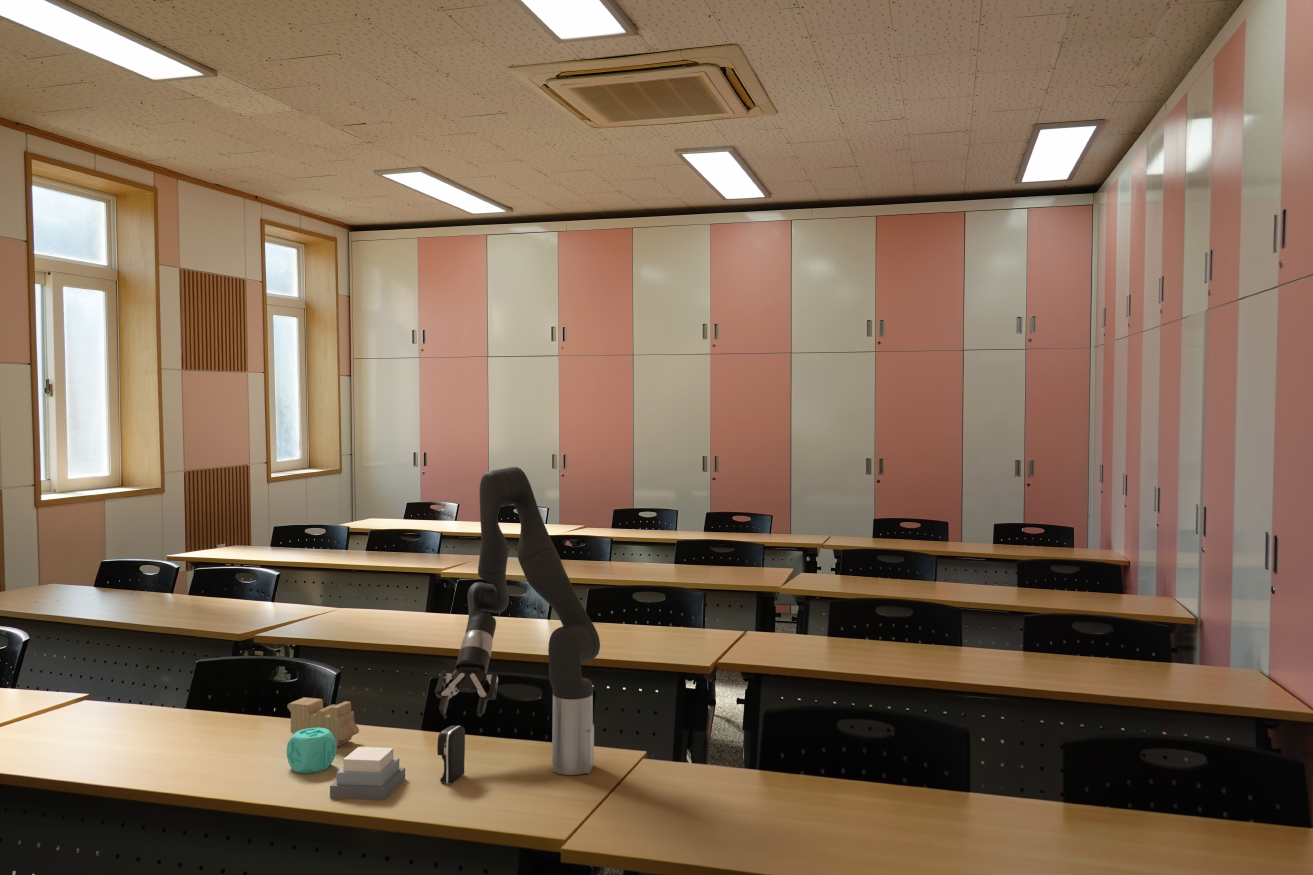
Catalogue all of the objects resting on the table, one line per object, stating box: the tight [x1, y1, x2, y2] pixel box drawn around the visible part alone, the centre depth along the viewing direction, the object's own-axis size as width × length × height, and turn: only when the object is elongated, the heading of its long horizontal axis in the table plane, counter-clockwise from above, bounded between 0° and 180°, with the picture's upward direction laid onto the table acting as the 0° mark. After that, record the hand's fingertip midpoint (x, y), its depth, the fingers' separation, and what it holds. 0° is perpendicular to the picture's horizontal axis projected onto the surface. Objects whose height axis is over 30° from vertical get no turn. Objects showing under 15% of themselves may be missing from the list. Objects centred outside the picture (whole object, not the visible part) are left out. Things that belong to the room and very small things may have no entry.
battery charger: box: [436, 725, 466, 785], centre depth 205 cm, size 7×4×11 cm, turn 164°
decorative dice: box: [286, 728, 337, 774], centre depth 212 cm, size 8×8×8 cm
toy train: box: [287, 697, 360, 748], centre depth 229 cm, size 6×17×10 cm, turn 73°
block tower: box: [329, 746, 406, 801], centre depth 199 cm, size 12×12×8 cm
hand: (460, 713), depth 213 cm, fingers open, 8 cm apart
